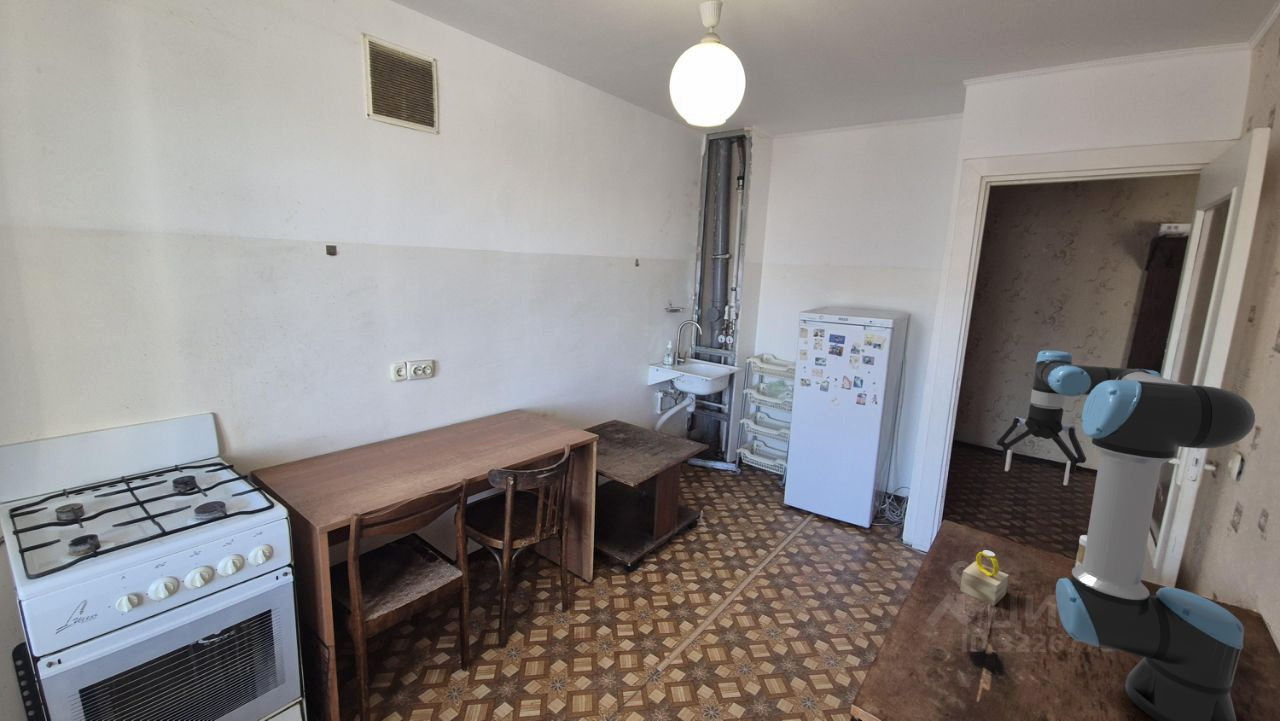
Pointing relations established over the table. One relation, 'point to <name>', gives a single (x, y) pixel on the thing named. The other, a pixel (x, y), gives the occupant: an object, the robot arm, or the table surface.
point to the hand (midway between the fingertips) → (1035, 476)
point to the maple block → (984, 584)
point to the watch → (993, 559)
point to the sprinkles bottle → (1081, 550)
